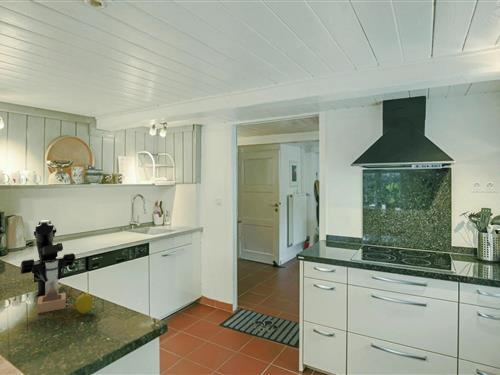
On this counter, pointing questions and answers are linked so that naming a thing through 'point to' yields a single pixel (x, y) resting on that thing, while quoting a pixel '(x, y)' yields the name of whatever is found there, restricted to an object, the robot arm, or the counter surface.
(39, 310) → the terracotta collar
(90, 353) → the counter surface
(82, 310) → the lemon
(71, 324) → the counter surface
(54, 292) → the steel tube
